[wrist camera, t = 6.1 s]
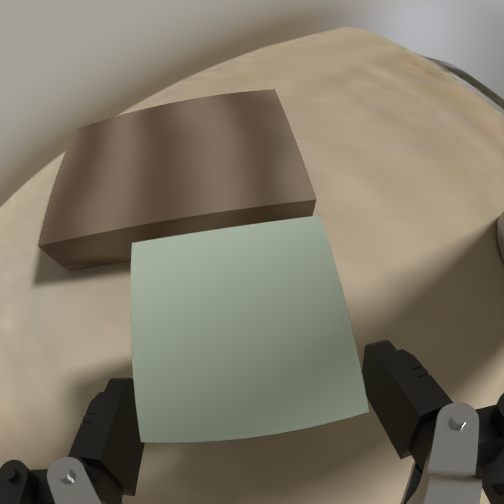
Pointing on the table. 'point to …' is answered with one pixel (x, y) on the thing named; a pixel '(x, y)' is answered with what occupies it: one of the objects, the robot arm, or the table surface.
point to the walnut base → (174, 176)
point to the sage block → (241, 334)
